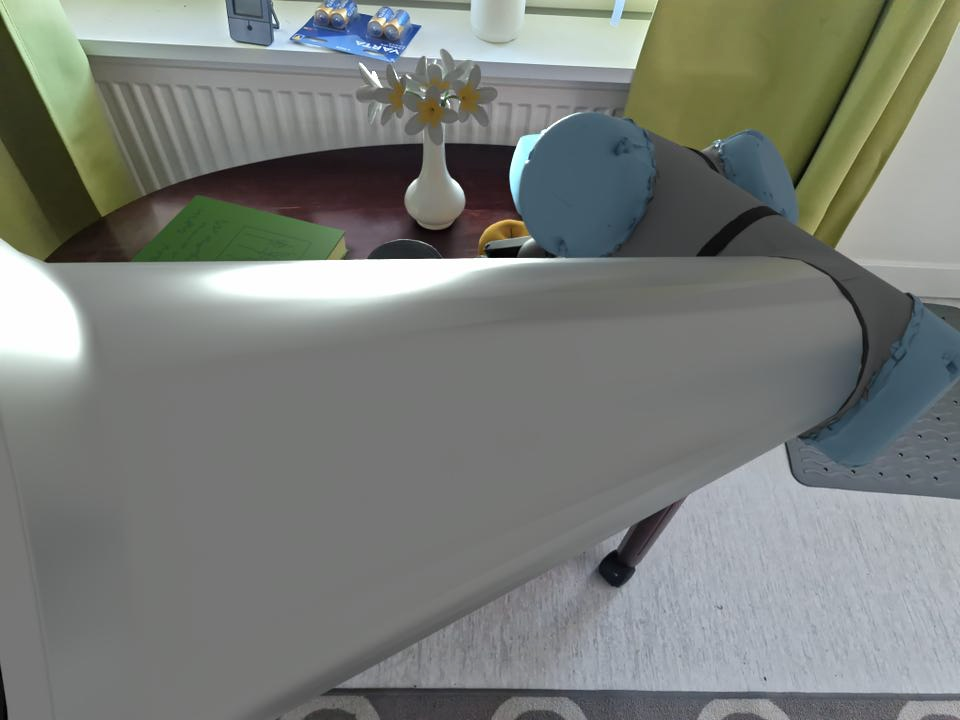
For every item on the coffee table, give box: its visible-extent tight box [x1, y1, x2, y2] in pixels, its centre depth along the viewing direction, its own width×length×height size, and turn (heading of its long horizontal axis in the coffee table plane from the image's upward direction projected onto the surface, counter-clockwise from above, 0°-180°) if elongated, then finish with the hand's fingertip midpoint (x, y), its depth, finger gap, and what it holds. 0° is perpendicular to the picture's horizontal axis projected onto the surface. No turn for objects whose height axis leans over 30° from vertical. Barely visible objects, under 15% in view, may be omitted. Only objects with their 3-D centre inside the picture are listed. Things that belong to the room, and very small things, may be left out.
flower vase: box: [355, 48, 499, 231], centre depth 91 cm, size 13×18×25 cm
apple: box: [478, 219, 530, 256], centre depth 90 cm, size 9×9×9 cm
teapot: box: [509, 128, 548, 216], centre depth 100 cm, size 12×18×12 cm
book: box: [129, 194, 349, 262], centre depth 90 cm, size 25×19×4 cm
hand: (410, 343), depth 65 cm, fingers open, 13 cm apart
